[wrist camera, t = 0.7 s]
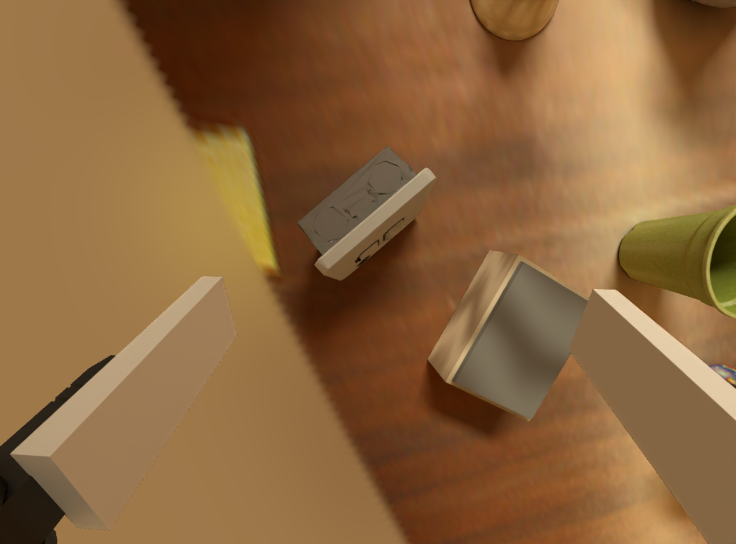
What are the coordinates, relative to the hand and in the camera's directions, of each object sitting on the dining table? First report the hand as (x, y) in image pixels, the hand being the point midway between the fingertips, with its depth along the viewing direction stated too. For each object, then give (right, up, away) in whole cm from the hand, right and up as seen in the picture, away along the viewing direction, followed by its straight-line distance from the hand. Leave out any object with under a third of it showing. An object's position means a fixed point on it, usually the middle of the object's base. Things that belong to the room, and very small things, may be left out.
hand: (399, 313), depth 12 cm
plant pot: (+27, +4, +21) cm, 34 cm away
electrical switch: (-2, +6, +16) cm, 17 cm away
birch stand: (+11, -4, +19) cm, 23 cm away
